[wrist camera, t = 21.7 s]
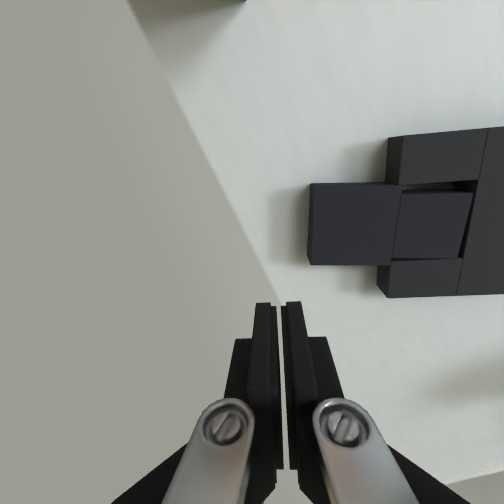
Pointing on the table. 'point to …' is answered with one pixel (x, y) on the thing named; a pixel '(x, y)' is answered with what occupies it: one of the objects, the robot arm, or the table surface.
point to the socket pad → (478, 221)
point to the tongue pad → (383, 223)
